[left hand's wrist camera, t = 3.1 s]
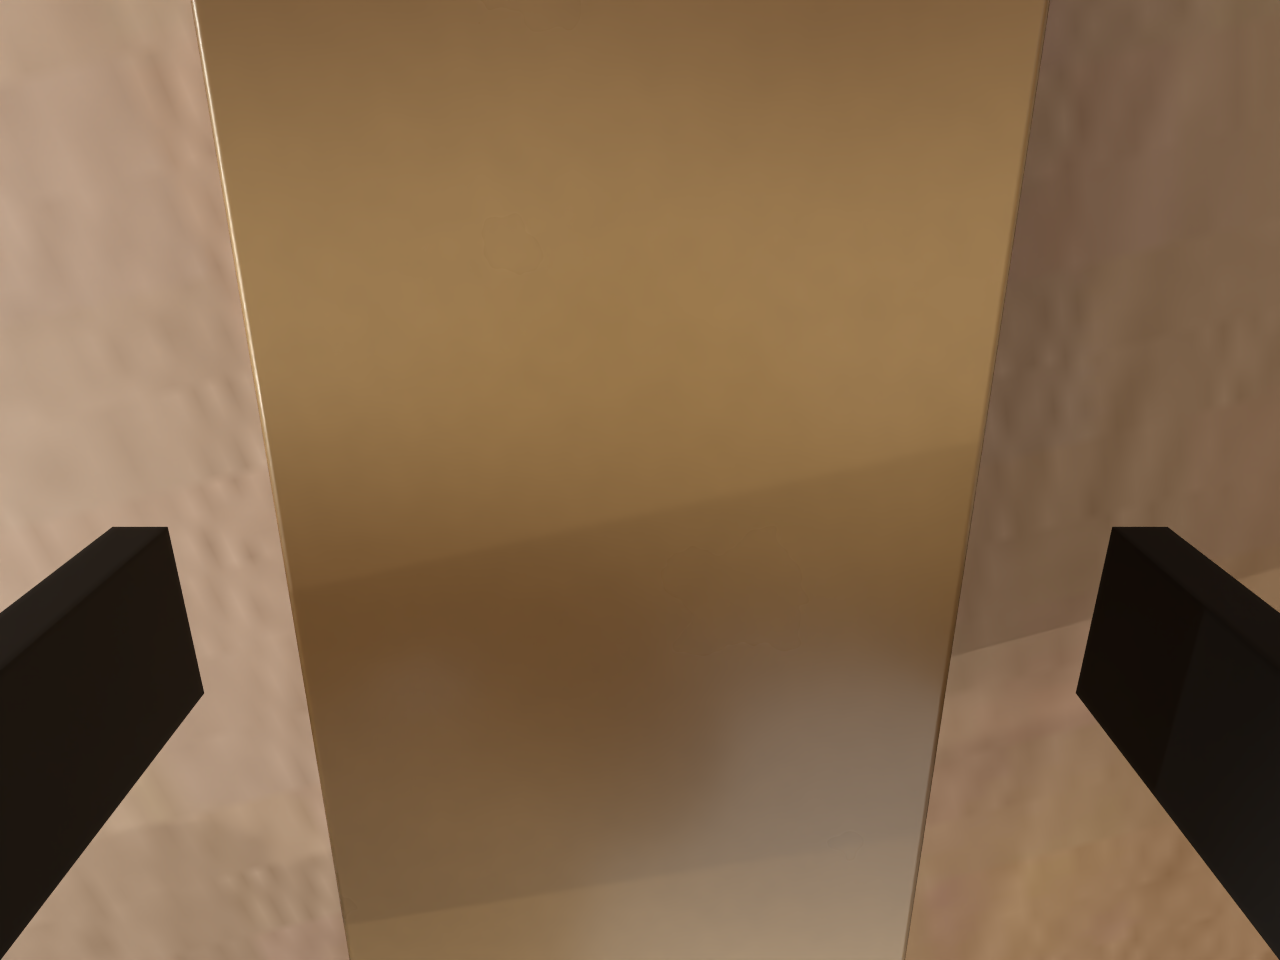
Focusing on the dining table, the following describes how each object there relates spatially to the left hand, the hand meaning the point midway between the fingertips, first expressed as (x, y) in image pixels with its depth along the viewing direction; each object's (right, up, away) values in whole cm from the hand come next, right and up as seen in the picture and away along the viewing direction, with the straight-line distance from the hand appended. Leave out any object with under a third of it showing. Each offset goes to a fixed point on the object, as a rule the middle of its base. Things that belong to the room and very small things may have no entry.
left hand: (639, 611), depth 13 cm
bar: (0, +8, +1) cm, 8 cm away
